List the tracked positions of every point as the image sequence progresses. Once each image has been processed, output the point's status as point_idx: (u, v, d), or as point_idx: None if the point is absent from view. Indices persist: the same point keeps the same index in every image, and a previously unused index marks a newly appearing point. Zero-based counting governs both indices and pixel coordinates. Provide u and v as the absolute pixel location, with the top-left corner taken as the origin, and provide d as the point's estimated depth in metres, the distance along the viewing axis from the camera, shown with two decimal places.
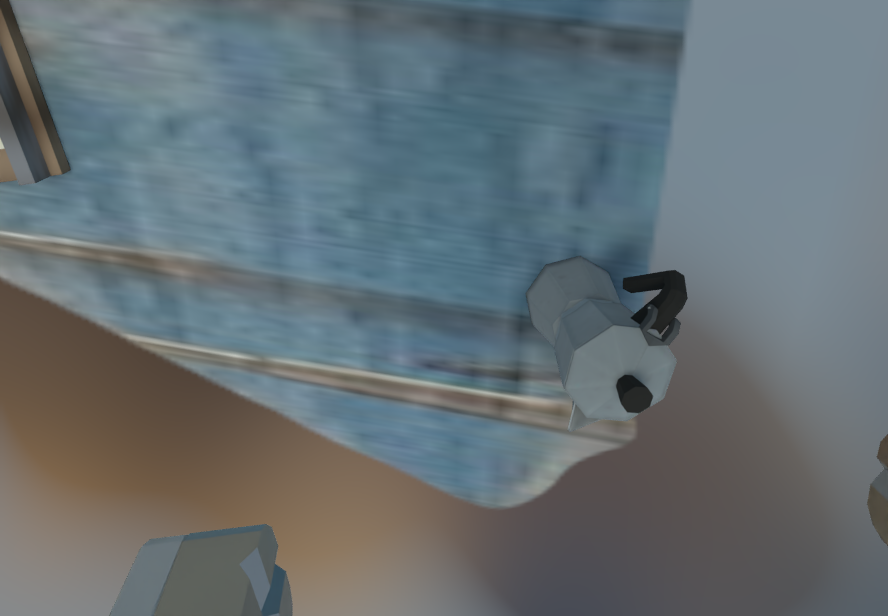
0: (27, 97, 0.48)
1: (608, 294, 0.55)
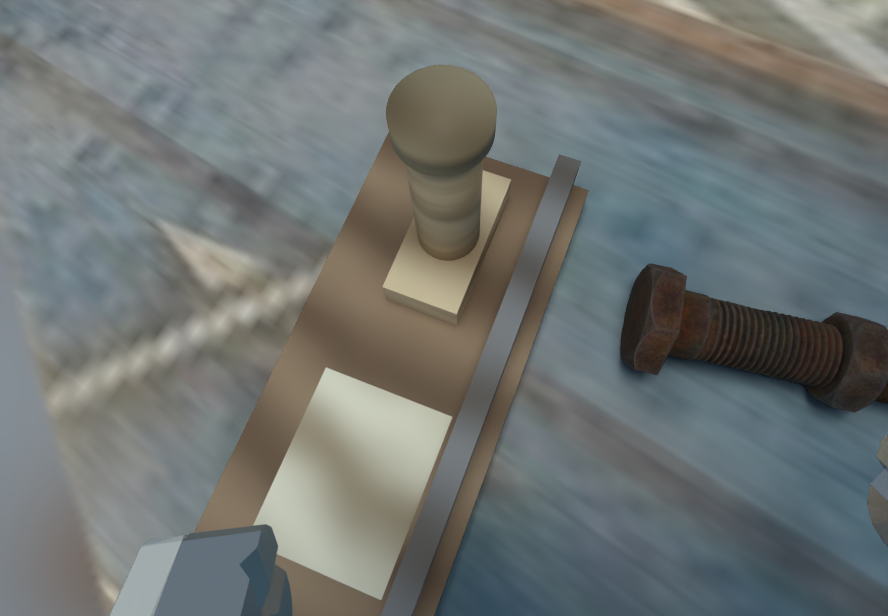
0: (450, 542, 0.30)
1: None
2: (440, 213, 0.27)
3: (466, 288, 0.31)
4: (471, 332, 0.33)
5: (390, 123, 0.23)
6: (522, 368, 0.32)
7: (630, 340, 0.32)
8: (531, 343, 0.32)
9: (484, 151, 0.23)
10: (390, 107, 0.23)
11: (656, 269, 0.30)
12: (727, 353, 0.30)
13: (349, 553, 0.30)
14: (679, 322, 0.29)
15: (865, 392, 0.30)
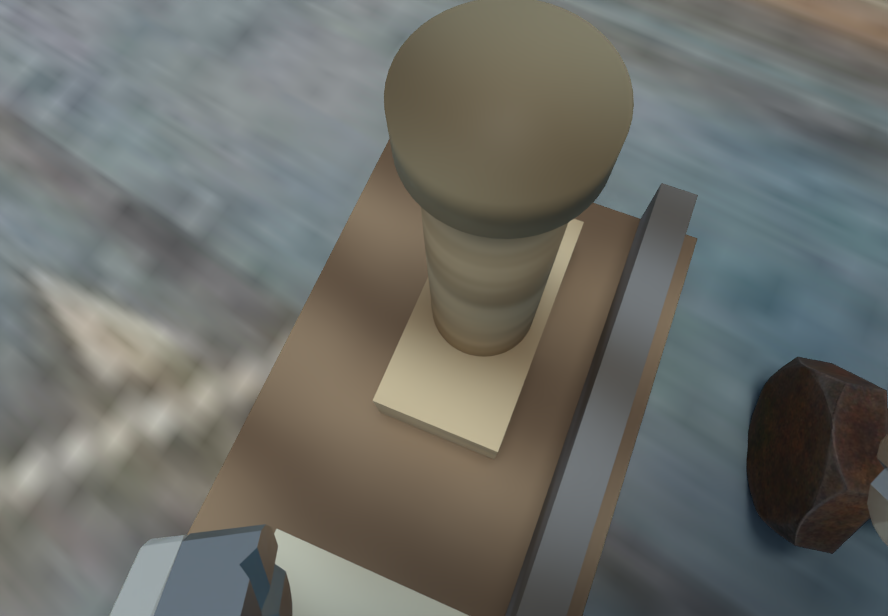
0: None
1: None
2: (484, 296, 0.14)
3: (513, 405, 0.19)
4: (517, 471, 0.20)
5: (392, 121, 0.10)
6: (603, 537, 0.19)
7: (779, 491, 0.19)
8: (617, 492, 0.20)
9: (601, 185, 0.10)
10: (394, 85, 0.10)
11: (828, 377, 0.18)
12: None
13: None
14: None
15: None
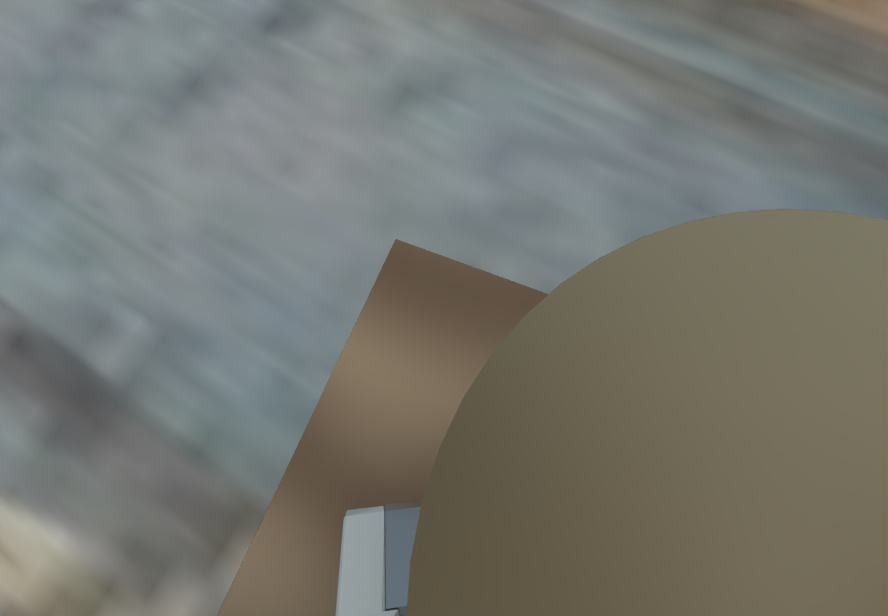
0: None
1: None
2: None
3: None
4: None
5: None
6: None
7: None
8: None
9: None
10: (442, 577, 0.03)
11: None
12: None
13: None
14: None
15: None
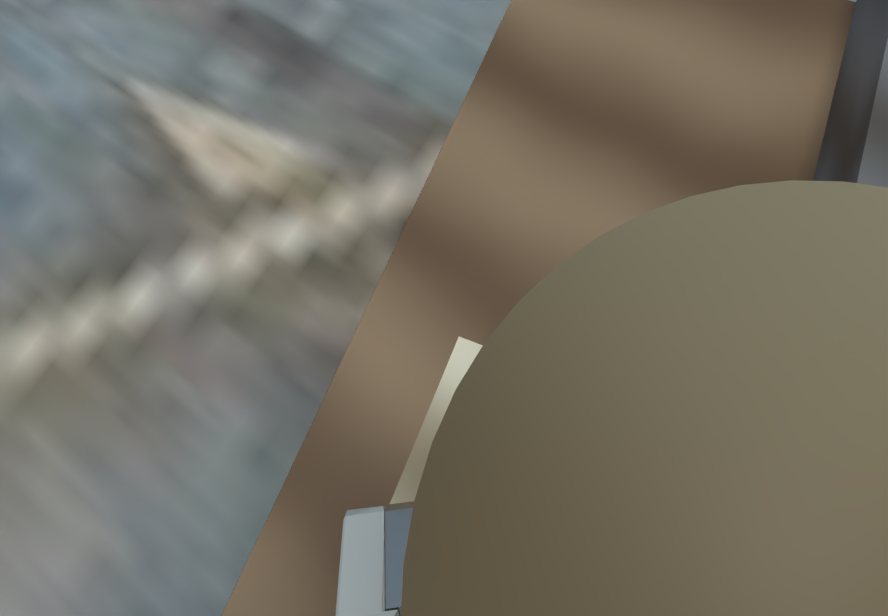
0: None
1: None
2: None
3: None
4: None
5: None
6: None
7: None
8: None
9: None
10: (437, 579, 0.03)
11: None
12: None
13: None
14: None
15: None
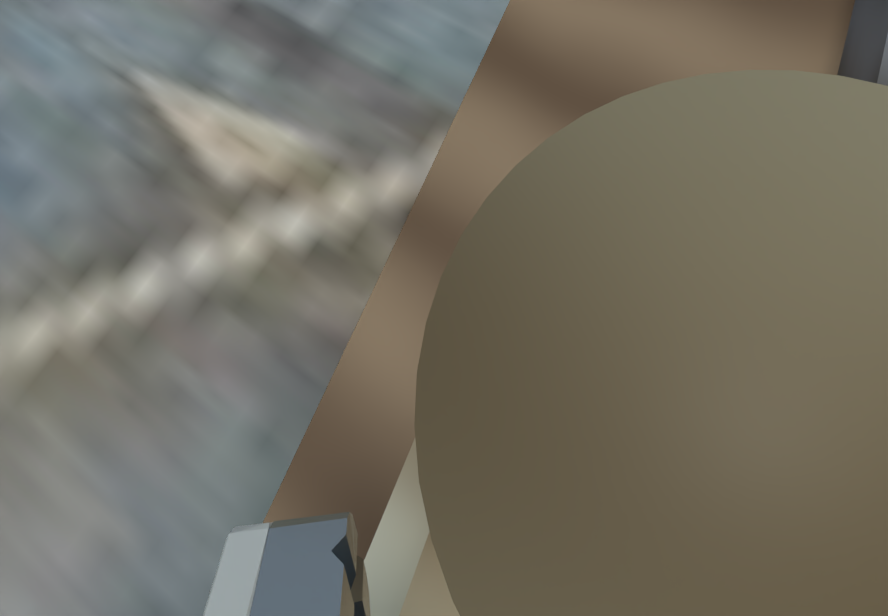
0: None
1: None
2: None
3: None
4: None
5: (450, 531, 0.03)
6: None
7: None
8: None
9: None
10: (446, 382, 0.03)
11: None
12: None
13: None
14: None
15: None
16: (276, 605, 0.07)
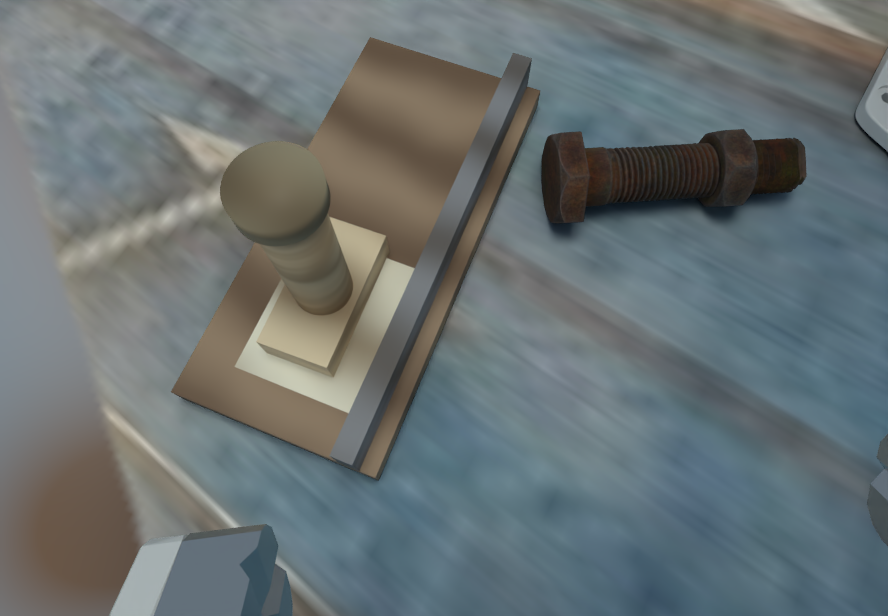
0: (412, 369, 0.34)
1: None
2: (295, 275, 0.28)
3: (337, 342, 0.33)
4: (435, 202, 0.38)
5: (223, 198, 0.24)
6: (479, 231, 0.37)
7: (553, 202, 0.37)
8: (487, 211, 0.37)
9: (315, 222, 0.24)
10: (224, 182, 0.24)
11: (555, 134, 0.36)
12: (632, 186, 0.36)
13: (324, 377, 0.34)
14: (587, 167, 0.35)
15: (744, 183, 0.36)
16: None
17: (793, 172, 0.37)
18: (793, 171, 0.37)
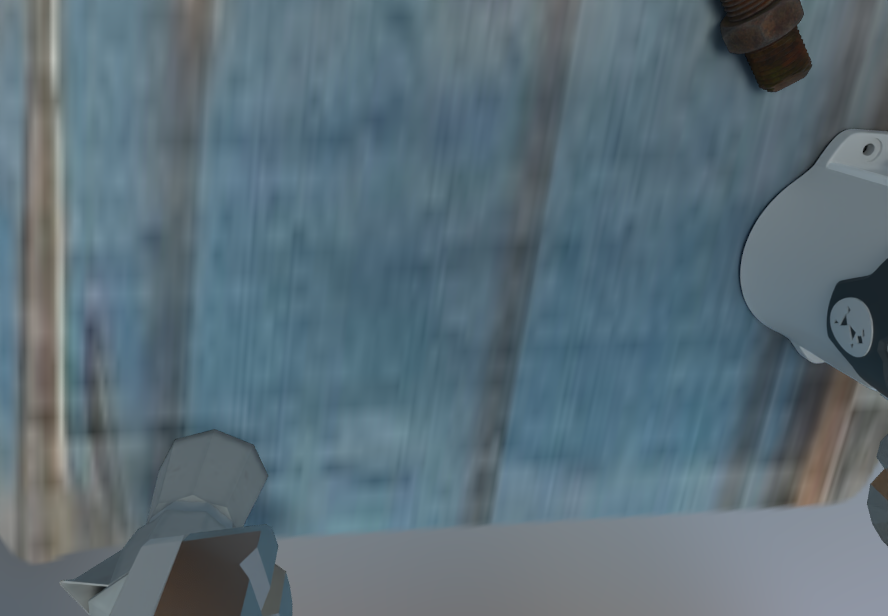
0: None
1: None
2: None
3: None
4: None
5: None
6: None
7: None
8: None
9: None
10: None
11: None
12: None
13: None
14: None
15: (747, 42, 0.39)
16: None
17: (775, 78, 0.40)
18: (775, 78, 0.40)
